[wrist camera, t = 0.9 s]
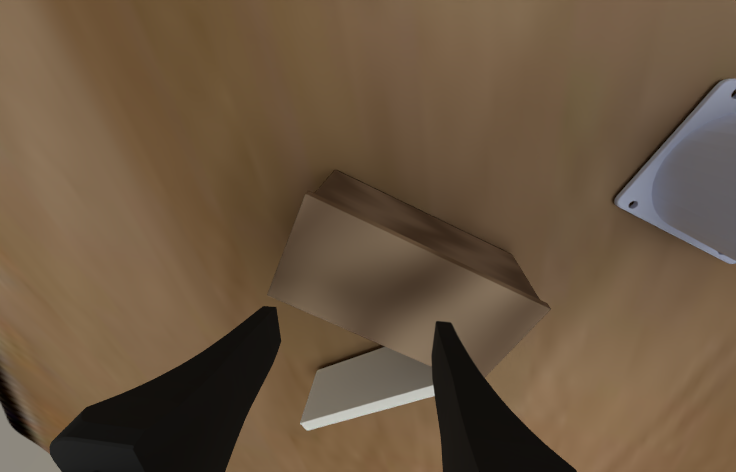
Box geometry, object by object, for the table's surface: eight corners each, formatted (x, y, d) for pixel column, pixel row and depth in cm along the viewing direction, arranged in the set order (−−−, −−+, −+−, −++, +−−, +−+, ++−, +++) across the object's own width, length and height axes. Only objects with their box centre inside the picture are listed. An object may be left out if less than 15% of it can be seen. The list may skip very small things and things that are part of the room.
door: (455, 322, 25) (465, 375, 21) (464, 338, 26) (476, 393, 21) (317, 370, 30) (299, 423, 25) (327, 382, 30) (312, 436, 26)
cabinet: (516, 255, 22) (550, 309, 17) (462, 323, 26) (476, 386, 20) (331, 166, 21) (305, 193, 16) (298, 249, 24) (267, 295, 19)
